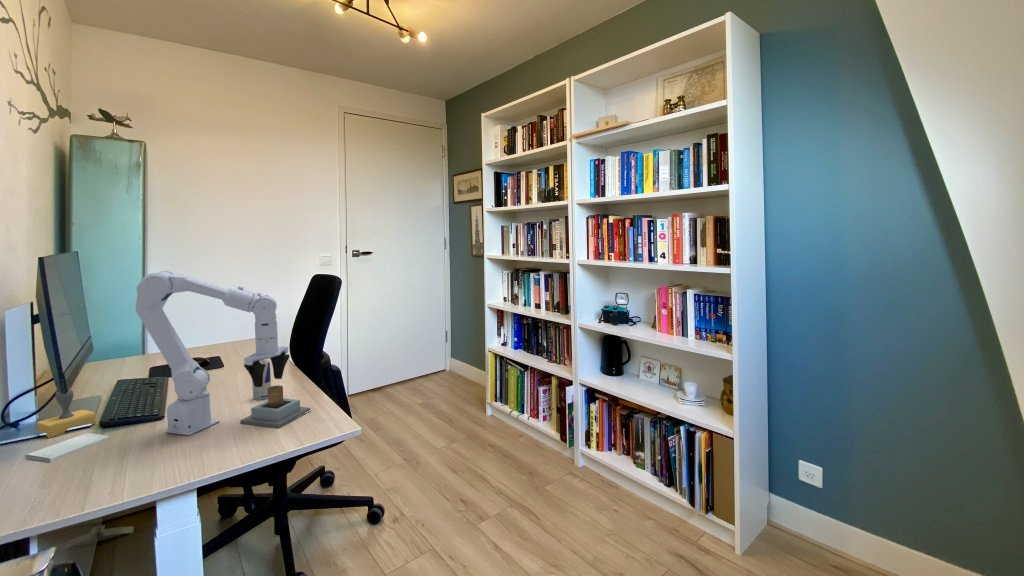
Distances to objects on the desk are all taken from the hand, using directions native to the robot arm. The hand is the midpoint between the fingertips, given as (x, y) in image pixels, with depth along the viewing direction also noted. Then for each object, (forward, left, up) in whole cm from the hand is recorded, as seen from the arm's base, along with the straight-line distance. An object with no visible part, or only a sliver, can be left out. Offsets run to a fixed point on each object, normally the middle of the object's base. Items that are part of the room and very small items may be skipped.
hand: (268, 382), depth 129 cm
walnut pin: (0, -2, -9) cm, 10 cm away
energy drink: (+13, +15, -11) cm, 22 cm away
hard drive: (-29, +33, -11) cm, 45 cm away
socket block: (0, -2, -10) cm, 11 cm away
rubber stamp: (-21, +47, -11) cm, 52 cm away
